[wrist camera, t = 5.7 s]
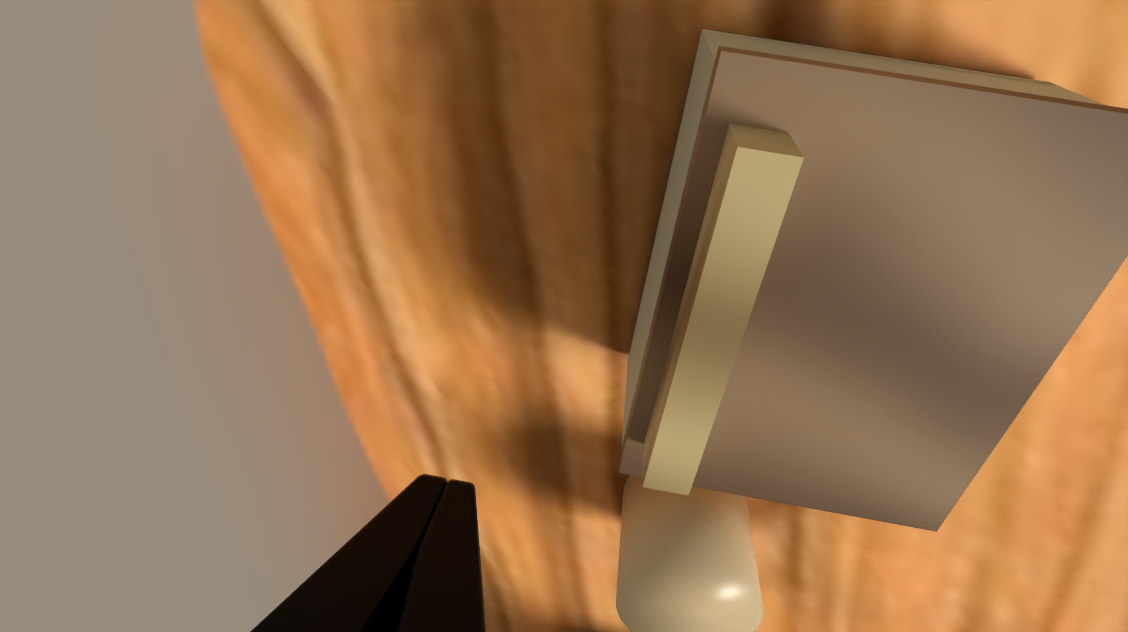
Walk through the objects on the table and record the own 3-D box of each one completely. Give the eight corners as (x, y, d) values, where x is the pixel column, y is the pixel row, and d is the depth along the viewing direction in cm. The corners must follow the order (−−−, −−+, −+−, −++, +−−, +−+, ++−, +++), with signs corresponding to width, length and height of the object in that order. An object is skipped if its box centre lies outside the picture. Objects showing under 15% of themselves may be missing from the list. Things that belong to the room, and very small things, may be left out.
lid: (929, 514, 18) (959, 581, 17) (619, 457, 19) (615, 516, 17) (1192, 119, 12) (1290, 154, 10) (718, 45, 12) (729, 67, 11)
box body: (880, 404, 22) (924, 501, 18) (628, 360, 22) (621, 446, 19) (1049, 82, 16) (1165, 129, 12) (702, 28, 16) (714, 59, 13)
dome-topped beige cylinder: (727, 547, 27) (740, 661, 23) (613, 526, 27) (605, 635, 23) (761, 467, 24) (782, 580, 20) (635, 443, 25) (629, 551, 20)
